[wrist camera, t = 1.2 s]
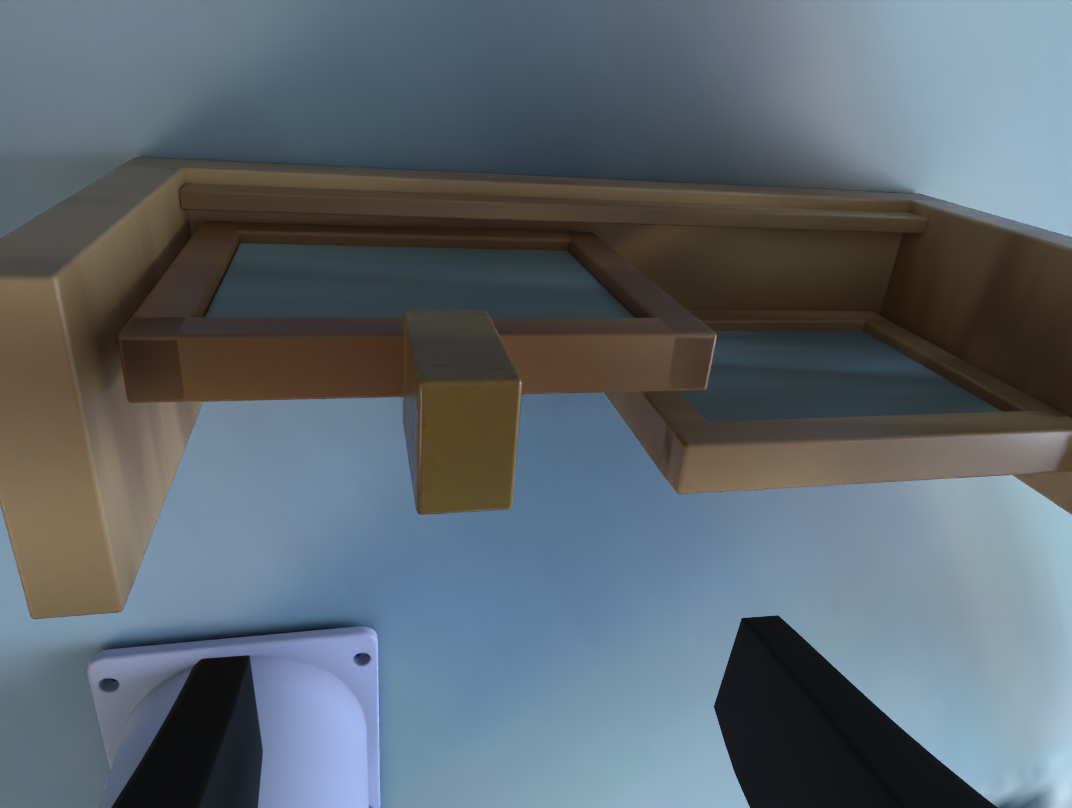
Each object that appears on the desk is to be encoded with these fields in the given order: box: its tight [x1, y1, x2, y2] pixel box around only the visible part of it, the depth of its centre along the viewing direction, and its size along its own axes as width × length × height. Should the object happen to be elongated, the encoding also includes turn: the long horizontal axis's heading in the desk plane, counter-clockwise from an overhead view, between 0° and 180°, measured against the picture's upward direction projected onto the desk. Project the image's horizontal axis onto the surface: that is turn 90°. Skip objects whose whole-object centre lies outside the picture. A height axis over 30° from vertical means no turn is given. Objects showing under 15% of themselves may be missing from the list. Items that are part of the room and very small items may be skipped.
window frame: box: [0, 157, 1072, 619], centre depth 16 cm, size 5×20×9 cm, turn 85°
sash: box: [117, 221, 717, 515], centre depth 13 cm, size 2×9×9 cm, turn 85°
